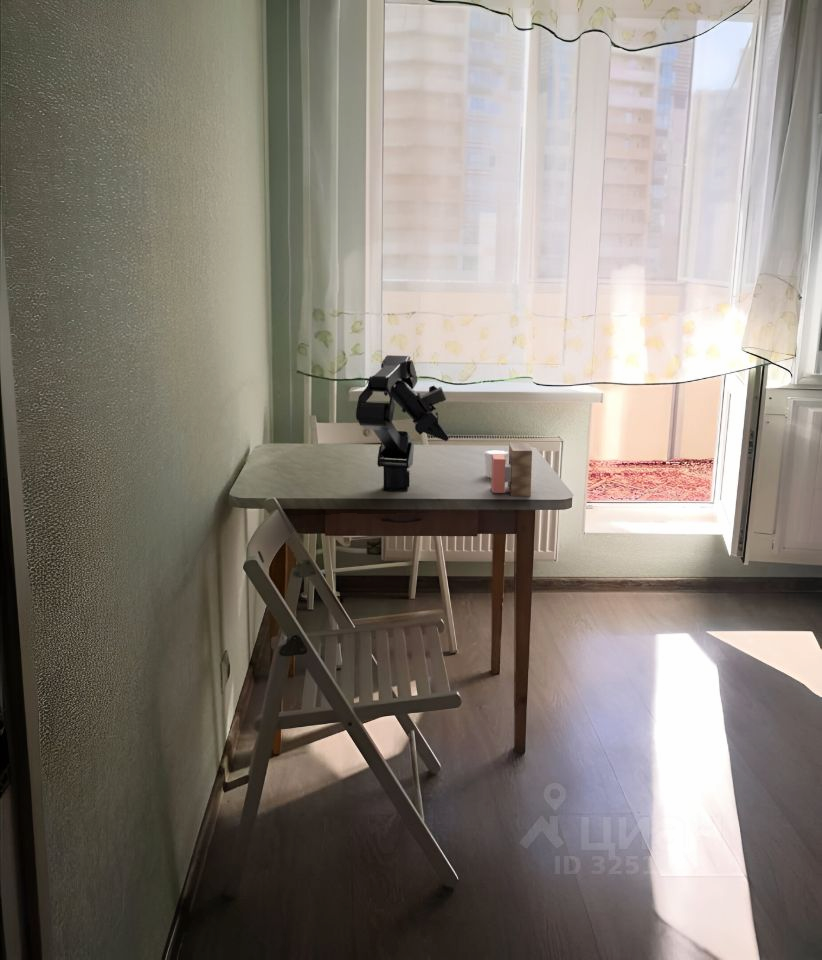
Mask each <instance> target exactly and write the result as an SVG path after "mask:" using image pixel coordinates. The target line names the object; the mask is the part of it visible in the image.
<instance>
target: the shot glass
mask: <svg viewBox="0 0 822 960" xmlns="http://www.w3.org/2000/svg"><path fill="white" fill-rule="evenodd" d="M492 454H504V457H505V459H506V461H505V464H509V451H507V450H503V449H490V450H489V449H488V450H485V451H484V462H485V463H484V465H485V476H486V477H487V478H489V477H490V478H489V479H491V476H492Z"/></svg>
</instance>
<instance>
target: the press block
mask: <svg viewBox="0 0 822 960" xmlns="http://www.w3.org/2000/svg"><path fill="white" fill-rule="evenodd" d="M508 452H509V455H508V464H511V482H507V487H509V488H508V491H509V490H510V491H509V494H510V493H511V494H510V496H511V497H531V494H532V465H533V462H532V461H533V449H532V448H531V446H530V444H529V443H528V442H509V443H508Z"/></svg>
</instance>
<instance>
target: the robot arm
mask: <svg viewBox="0 0 822 960" xmlns="http://www.w3.org/2000/svg"><path fill="white" fill-rule="evenodd" d="M418 378H419V377H418V375H417V371H416V368H415V364H414V361H413V360H412V359H411V356H410V355H388V354H387V355H386V356H385V358H384V359H383V360H382V363H381V364H380V370H379V371H377V372H376V373H375V374H373V375H371V376H369V377H368V382H367V383H368V384H367V386H366V387H365V388H364V390H363V391H362V392H361V393H360V395H359V396H358V400H357V405H356V408H355V409H356V410H355V418H356V421H357V423H358V425H360V426H361V427H362V428H364V429H368V430H372V432H374V434H375V436H376V437H377V438H378V439H379V441H380V442H381V443H380V445H379V449H378V454H377V463H376V465H377V467H379V468H380V467H381V468H383V485H382V491H384V492H406V491H408V489H409V488H410V470H408V469H410V468H411V467H412V466H413V463H414V462H413V461H414V450H415V448H414V447H415V445H414V442H413V441H412V439H411V435H409V433H408V431H402V430H397V428H396V427H395V425H394V424H393V419H394V413H395V406H396V405H397V406H398V407H399V408H400V409H401V412H403V413H404V414H406V415H407V416H408V417H409V418H410V419H411V421H412V422H413V423H414V425H415V426H414V429H415V431H416V432H417V433H418V434H419V435H422V434H423V433H424V434H427V435H430V436H432V437H435V438H437V439H439V440H442V441H444V442H448V441H449V439H450V438H449V436H448V434H447V433H446V431H445V430H444V428H443V427H442V425H441V423H440V422H439V412H438V411H436V409H437V406H436V405H437V404H439V403H442V402H445V401H447V397H446V394H445V392H444V391H443V388H442V386H439V387H437V386H435V385H431V386H430V387H428V392H426V393H425V394H423V395H421V393H420V392H416V391H415V390H414V388H415V387H416V386H417V383H418V380H419V379H418ZM374 393H383V394H384V396H385V397H387V396H388V398H389V402H374V401H373V402H369V401H368V400H369V399H370V398H371V397H372V395H373V394H374ZM367 401H368V402H367ZM434 411H436V412H434Z"/></svg>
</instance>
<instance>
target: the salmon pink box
mask: <svg viewBox="0 0 822 960" xmlns="http://www.w3.org/2000/svg"><path fill="white" fill-rule="evenodd" d="M505 461H506V459H505V457H504V454H492V476H491V478H490V479H491V481H490V483H491V484H490V486H491V490H492V493H493V494H505V493H506V492H505V491H506V483H508V482H511V464H509V463H507V464H505Z"/></svg>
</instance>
